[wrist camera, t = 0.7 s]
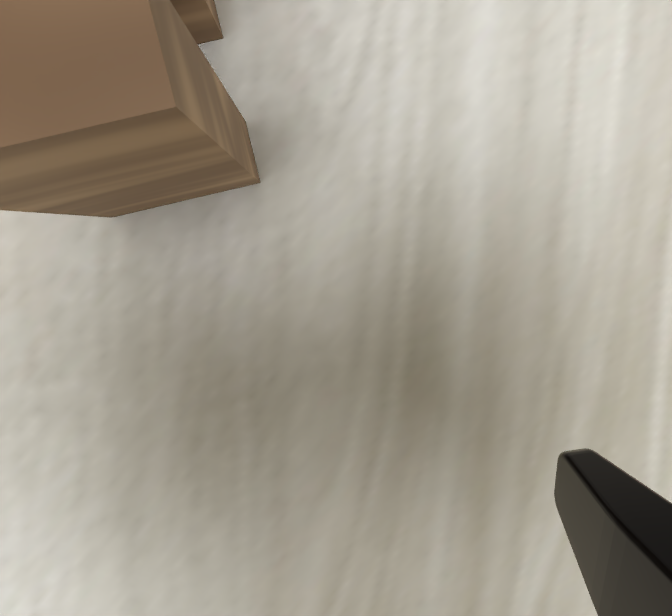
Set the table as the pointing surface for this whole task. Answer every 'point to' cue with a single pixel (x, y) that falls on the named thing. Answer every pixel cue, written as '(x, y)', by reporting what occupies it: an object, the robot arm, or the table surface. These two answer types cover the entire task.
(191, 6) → the walnut domino
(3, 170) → the walnut domino
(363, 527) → the table surface
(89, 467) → the table surface
